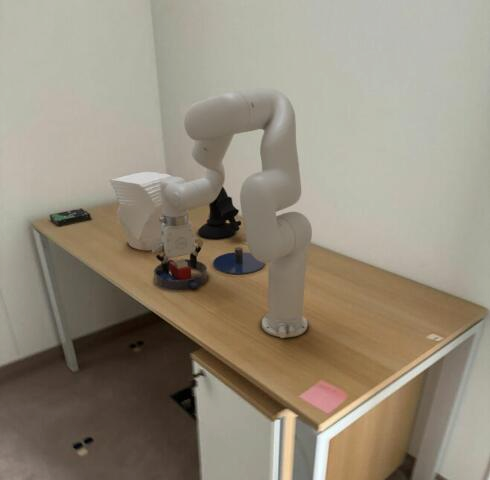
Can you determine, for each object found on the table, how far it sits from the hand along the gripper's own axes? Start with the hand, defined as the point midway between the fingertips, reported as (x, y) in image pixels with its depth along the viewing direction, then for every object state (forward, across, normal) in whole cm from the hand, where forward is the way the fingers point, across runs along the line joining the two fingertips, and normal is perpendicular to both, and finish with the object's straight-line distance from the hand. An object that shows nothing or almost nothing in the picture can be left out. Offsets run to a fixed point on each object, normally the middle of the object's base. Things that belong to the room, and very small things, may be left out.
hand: (180, 269), depth 153 cm
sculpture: (+4, +30, +28) cm, 42 cm away
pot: (+3, 0, 0) cm, 3 cm away
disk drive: (+4, -18, +80) cm, 83 cm away
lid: (+3, +22, 0) cm, 22 cm away
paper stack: (+4, +5, +35) cm, 35 cm away
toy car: (+3, 0, 0) cm, 3 cm away
